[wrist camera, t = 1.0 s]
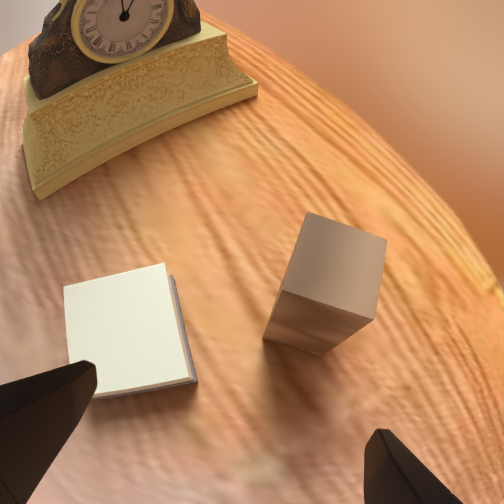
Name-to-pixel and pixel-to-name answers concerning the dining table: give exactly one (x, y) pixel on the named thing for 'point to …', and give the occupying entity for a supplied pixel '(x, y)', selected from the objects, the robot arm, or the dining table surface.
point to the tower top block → (127, 330)
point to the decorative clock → (119, 82)
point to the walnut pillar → (327, 286)
